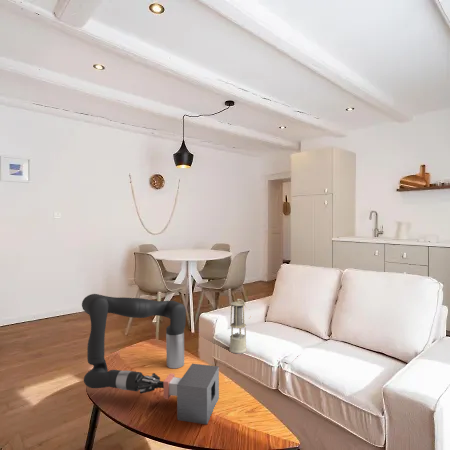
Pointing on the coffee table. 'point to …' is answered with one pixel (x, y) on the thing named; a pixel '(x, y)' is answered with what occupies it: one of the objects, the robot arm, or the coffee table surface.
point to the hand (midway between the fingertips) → (166, 385)
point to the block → (198, 393)
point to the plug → (170, 385)
